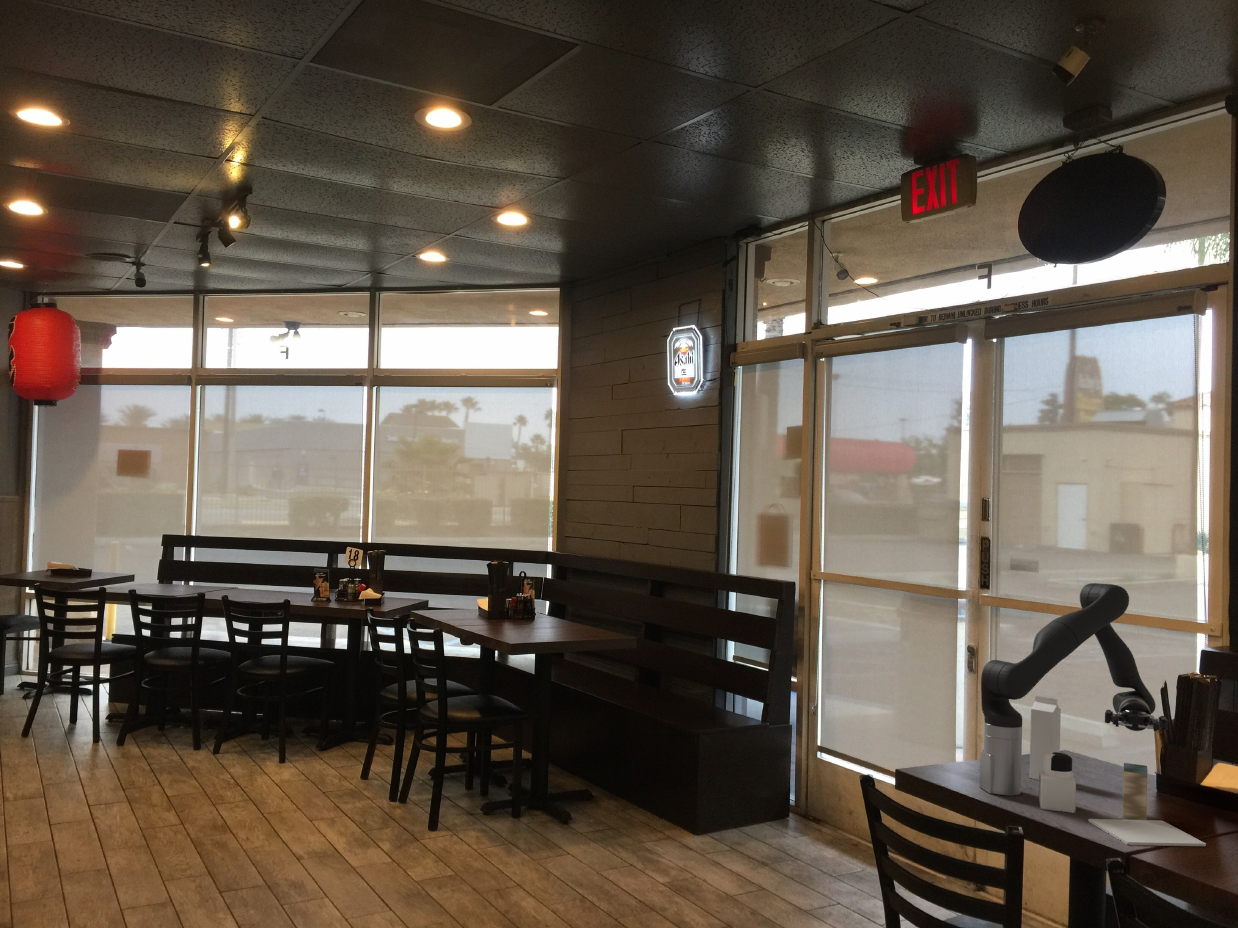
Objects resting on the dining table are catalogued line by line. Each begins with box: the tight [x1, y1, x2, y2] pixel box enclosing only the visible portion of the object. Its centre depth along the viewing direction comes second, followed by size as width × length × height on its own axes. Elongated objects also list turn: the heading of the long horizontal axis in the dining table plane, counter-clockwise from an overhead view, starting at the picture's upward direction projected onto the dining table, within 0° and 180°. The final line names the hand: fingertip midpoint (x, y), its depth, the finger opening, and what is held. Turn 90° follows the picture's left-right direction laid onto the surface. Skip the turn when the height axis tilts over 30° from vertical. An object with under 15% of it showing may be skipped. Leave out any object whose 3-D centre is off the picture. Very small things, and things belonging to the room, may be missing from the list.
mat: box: [1087, 818, 1207, 847], centre depth 228 cm, size 18×16×1 cm
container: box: [1038, 752, 1077, 814], centre depth 246 cm, size 8×8×13 cm
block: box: [1122, 762, 1149, 820], centre depth 241 cm, size 5×5×12 cm
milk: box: [1028, 695, 1062, 781], centre depth 273 cm, size 6×6×22 cm
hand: (1136, 724), depth 251 cm, fingers open, 8 cm apart
